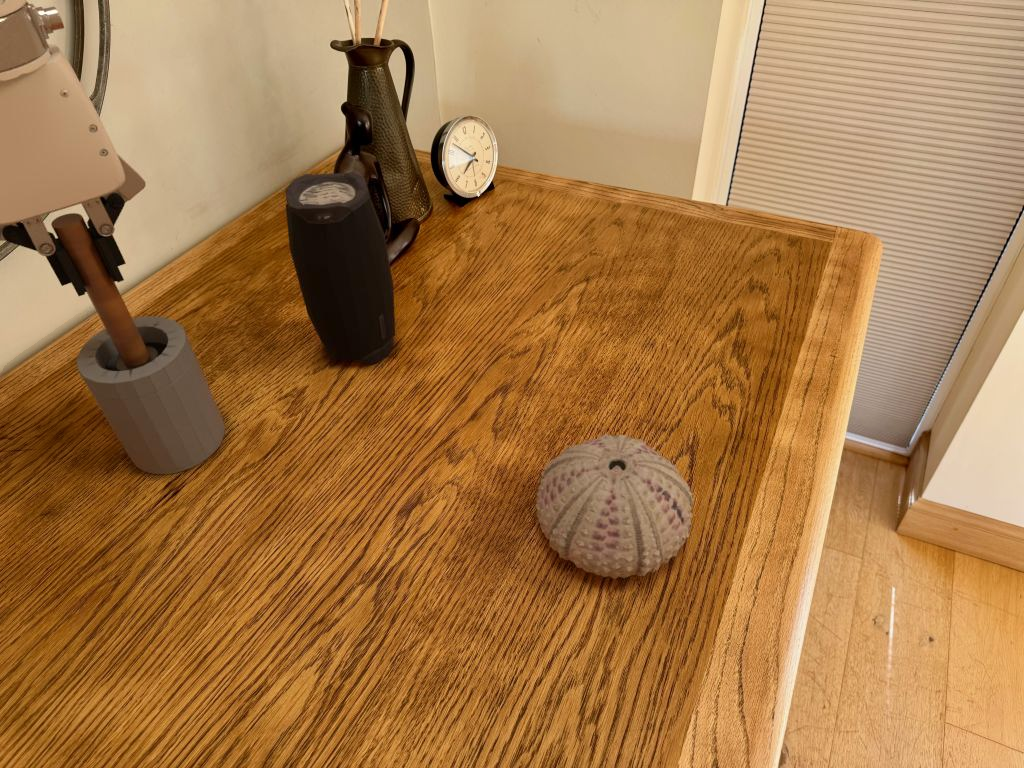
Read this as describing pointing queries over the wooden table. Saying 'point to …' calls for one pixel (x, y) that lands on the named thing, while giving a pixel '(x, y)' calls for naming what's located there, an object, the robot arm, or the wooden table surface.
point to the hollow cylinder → (155, 398)
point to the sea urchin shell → (614, 506)
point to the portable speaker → (342, 265)
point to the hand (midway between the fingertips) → (96, 279)
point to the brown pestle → (103, 292)
